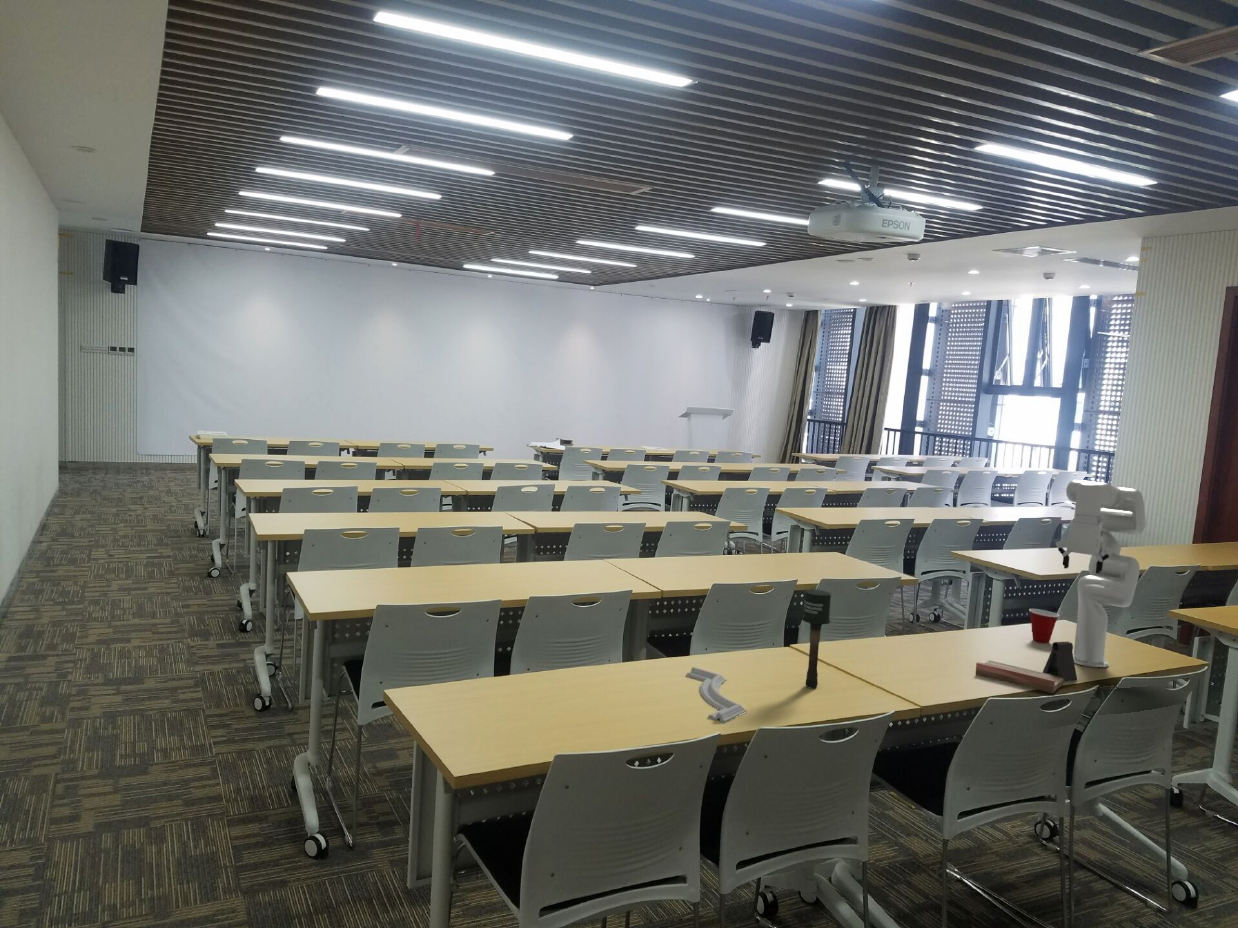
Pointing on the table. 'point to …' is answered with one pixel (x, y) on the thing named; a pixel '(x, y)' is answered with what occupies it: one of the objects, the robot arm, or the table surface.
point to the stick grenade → (815, 627)
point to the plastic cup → (1042, 624)
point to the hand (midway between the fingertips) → (1081, 570)
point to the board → (1020, 682)
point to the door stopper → (1061, 661)
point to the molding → (716, 695)
